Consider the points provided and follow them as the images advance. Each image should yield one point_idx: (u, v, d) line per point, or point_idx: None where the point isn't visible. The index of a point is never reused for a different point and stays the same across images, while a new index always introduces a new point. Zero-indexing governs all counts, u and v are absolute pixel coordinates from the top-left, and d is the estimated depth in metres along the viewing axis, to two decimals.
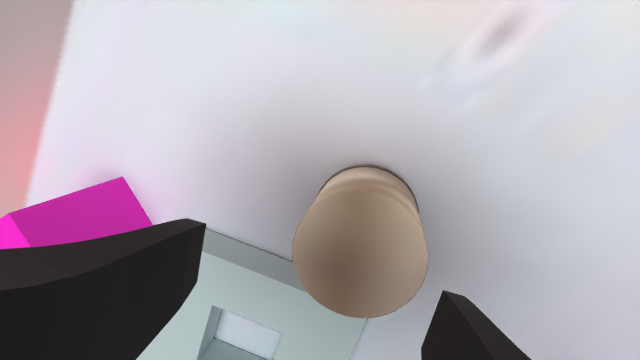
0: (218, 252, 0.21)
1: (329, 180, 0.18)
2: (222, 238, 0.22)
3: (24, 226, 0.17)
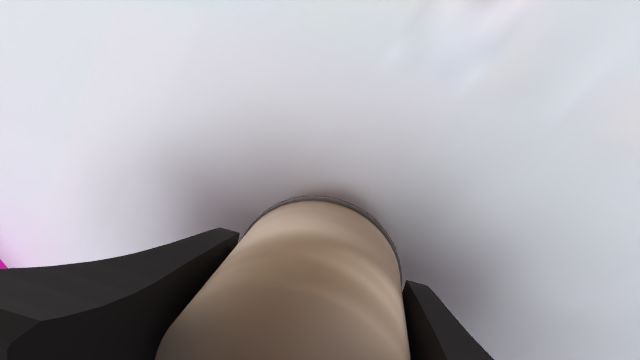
0: None
1: (252, 226, 0.11)
2: None
3: None
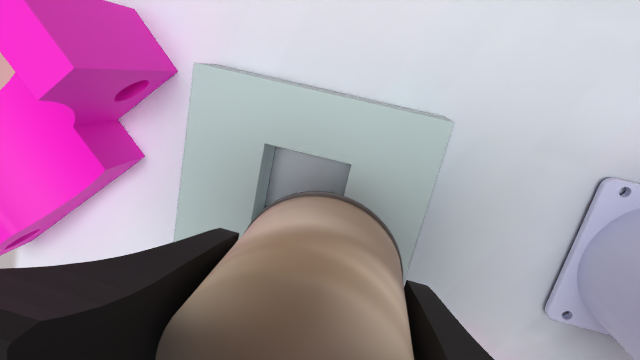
0: (265, 78, 0.18)
1: (255, 220, 0.11)
2: (265, 76, 0.19)
3: None
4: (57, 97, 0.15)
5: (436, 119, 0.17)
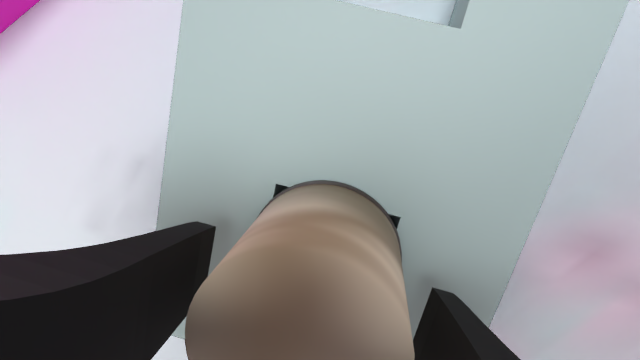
0: None
1: (267, 206, 0.12)
2: None
3: None
4: None
5: None
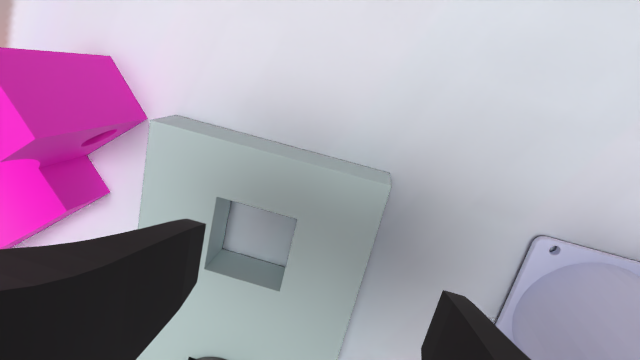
0: (218, 135, 0.19)
1: None
2: (221, 129, 0.20)
3: None
4: (20, 156, 0.15)
5: (375, 182, 0.18)
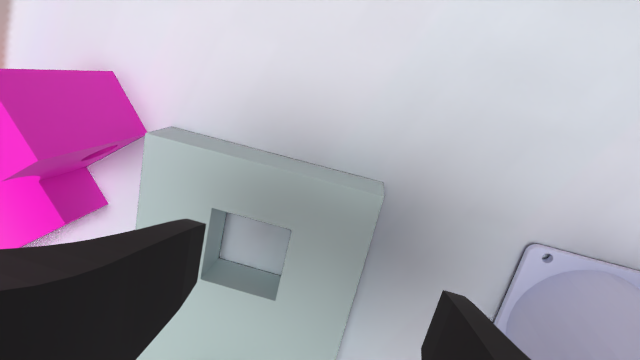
0: (212, 148, 0.19)
1: None
2: (216, 140, 0.20)
3: None
4: (21, 175, 0.16)
5: (368, 193, 0.18)
